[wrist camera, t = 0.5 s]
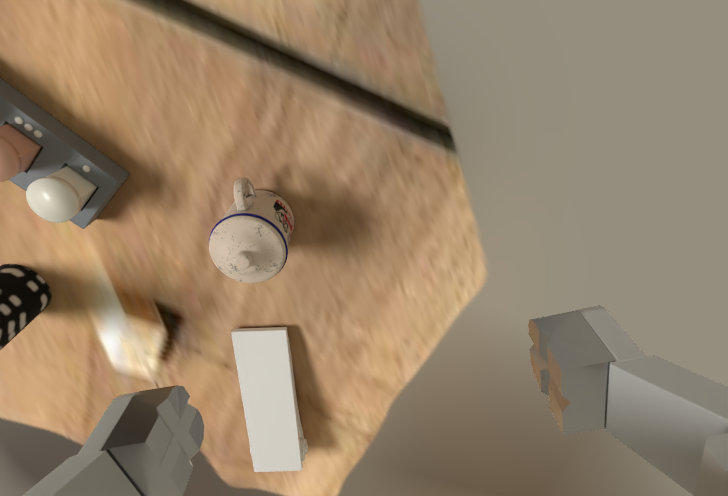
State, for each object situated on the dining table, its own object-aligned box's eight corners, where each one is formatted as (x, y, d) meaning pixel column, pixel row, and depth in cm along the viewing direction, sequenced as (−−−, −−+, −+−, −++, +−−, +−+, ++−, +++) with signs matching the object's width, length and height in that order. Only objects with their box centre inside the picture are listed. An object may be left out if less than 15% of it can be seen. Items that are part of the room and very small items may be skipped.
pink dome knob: (-13, 147, 50) (-47, 159, 46) (6, 114, 49) (-28, 123, 44) (31, 176, 52) (1, 191, 48) (51, 146, 50) (22, 158, 46)
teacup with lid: (301, 245, 60) (290, 293, 50) (237, 251, 60) (212, 300, 50) (285, 161, 54) (268, 195, 44) (214, 169, 55) (181, 204, 44)
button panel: (-71, 106, 51) (-96, 111, 48) (-42, 46, 48) (-67, 48, 45) (95, 219, 58) (82, 229, 55) (129, 173, 55) (117, 182, 52)
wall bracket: (245, 307, 72) (264, 438, 82) (221, 330, 65) (245, 470, 75) (301, 313, 70) (314, 447, 79) (282, 337, 63) (299, 480, 73)
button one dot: (46, 187, 53) (18, 202, 48) (65, 156, 51) (38, 170, 47) (85, 214, 55) (62, 231, 50) (106, 186, 53) (83, 201, 48)
